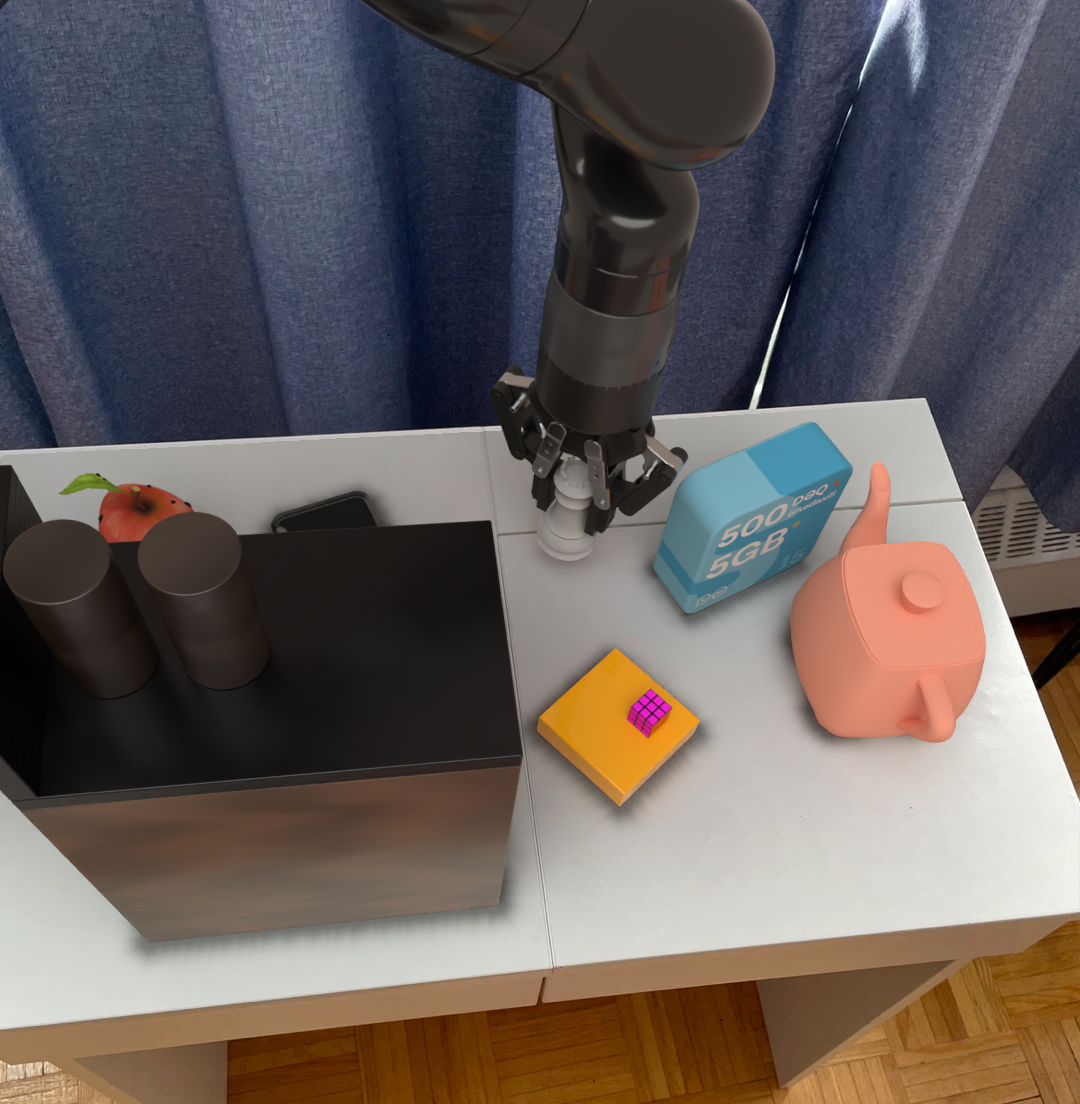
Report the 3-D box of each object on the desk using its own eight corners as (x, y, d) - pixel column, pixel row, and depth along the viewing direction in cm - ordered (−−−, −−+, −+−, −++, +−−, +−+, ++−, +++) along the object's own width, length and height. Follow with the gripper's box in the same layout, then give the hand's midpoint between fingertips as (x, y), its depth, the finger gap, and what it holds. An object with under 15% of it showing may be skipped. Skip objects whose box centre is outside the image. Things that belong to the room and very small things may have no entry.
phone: (334, 683, 75) (266, 516, 81) (336, 690, 76) (268, 525, 82) (441, 647, 77) (367, 486, 83) (441, 654, 78) (368, 495, 84)
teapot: (972, 783, 77) (1058, 709, 66) (813, 799, 76) (874, 726, 65) (895, 549, 86) (961, 449, 75) (751, 559, 84) (796, 459, 73)
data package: (680, 621, 81) (716, 525, 70) (648, 575, 83) (679, 475, 72) (808, 560, 84) (861, 459, 74) (774, 517, 86) (822, 413, 75)
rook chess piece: (606, 532, 81) (623, 463, 74) (577, 574, 79) (591, 507, 72) (555, 505, 82) (567, 434, 75) (524, 546, 80) (534, 477, 73)
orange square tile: (619, 807, 74) (628, 783, 70) (535, 730, 76) (540, 704, 72) (694, 733, 77) (707, 707, 73) (611, 661, 79) (620, 632, 75)
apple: (187, 513, 82) (156, 423, 73) (226, 580, 80) (199, 496, 71) (88, 554, 80) (43, 466, 71) (125, 624, 77) (84, 543, 68)
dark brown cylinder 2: (162, 663, 49) (115, 565, 42) (216, 600, 51) (179, 495, 44) (235, 705, 49) (199, 612, 42) (287, 639, 50) (262, 539, 43)
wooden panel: (148, 942, 68) (19, 811, 47) (152, 752, 73) (38, 560, 53) (498, 905, 71) (521, 766, 50) (477, 725, 76) (490, 533, 55)
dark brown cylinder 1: (47, 672, 49) (-21, 573, 42) (106, 607, 50) (50, 502, 43) (119, 714, 48) (63, 622, 41) (176, 647, 50) (131, 547, 43)
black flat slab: (19, 811, 47) (-48, 742, 41) (38, 560, 53) (-19, 465, 46) (521, 766, 50) (533, 696, 43) (490, 533, 55) (496, 439, 49)
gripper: (466, 320, 62) (459, 505, 77) (686, 429, 60) (634, 597, 75) (531, 243, 65) (512, 436, 80) (743, 344, 63) (681, 522, 78)
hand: (571, 513), depth 78 cm, fingers closed on rook chess piece, 3 cm apart
